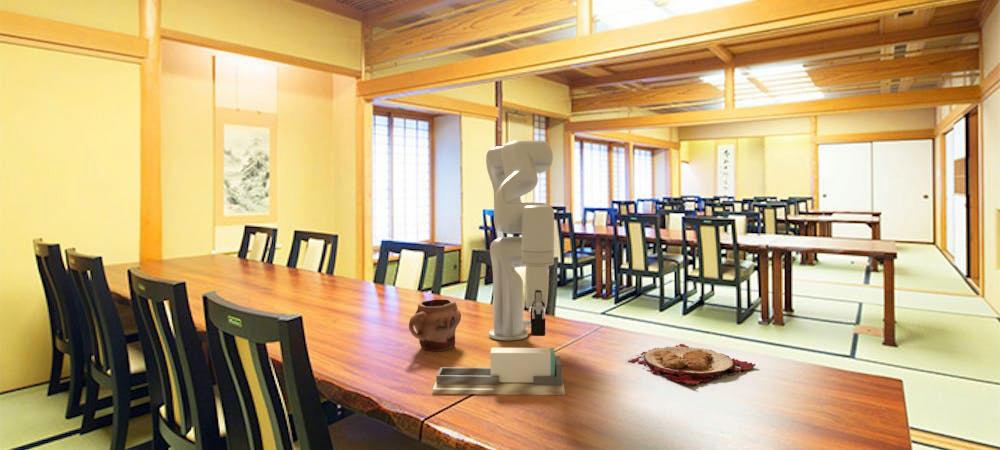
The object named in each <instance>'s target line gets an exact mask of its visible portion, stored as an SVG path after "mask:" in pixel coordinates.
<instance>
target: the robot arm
mask: <svg viewBox="0 0 1000 450" xmlns="http://www.w3.org/2000/svg"><path fill="white" fill-rule="evenodd" d="M553 155H554V154H553V149H552V147H551V145H549V143H548V142H547V141H545V140H512V141H509V142H506V143H505V144H504V146H503V145H502V146H496V147H495V146H494V147H491V148H490V149H488V151H487V152H486V155H485V156H486V157H485V163H486V169H487V172H488V173H487V174H488V176H489V179H490V183H491V184H492V189H493V218H494V219H493V220H494V221H493V223H494V228H495V229H496V231H498V232H501V233H503V234H521V236H503V237H498V238H496V239H494V240H493V241H492V242H491V243H490V247H489V254H490V261H491V267H492V269H491V270H492V291H493V292H492V293H493V297H492V298H493V300H492V301H493V302H492V303H493V308H492V309H493V312H492V313H493V329H490V330H489V331H488V336H489V338H490V339H494V340H497V341H505V342H507V341H509V342H510V341H513V342H514V341H520V340H523V339H525V338H527V337H528V336H529V331H528V330H527V329H526V328H527V327H530V334H531V336H532V337H545V336H546V318H545V309H546V308H547V307H548V299H549V277H550V276H549V274H550V271H549V269H550V268H549V267H550V266H553V265H554V264H555V211H554V208H553V207H552V206H551V205H549V204H548V203H545V202H523V201H522V200H521V197H522V196H525V195H526V194H527V195H528V194H529V193H530V192H532V191H533V190H534V189H535V188H536V187H537V185H538V182H539V177H538V174H542V173H545V172H547V171H548V170H550V168H551V167H552V163H553V161H554V158H553V157H554V156H553ZM523 267H525V308H527V309H530V319H528V320H527V319H524V280H523V279H522V277H521V275H520V273H518V272H517V270H516V269H515V268H523Z"/></svg>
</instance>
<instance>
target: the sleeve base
mask: <svg viewBox="0 0 1000 450" xmlns="http://www.w3.org/2000/svg"><path fill="white" fill-rule="evenodd" d="M565 392H566V391H565V385H564V380H563V378H562V386H538V385H533V383H526V382H499V376H491V367H466V366H465V367H460V366H459V367H453V366H450V367H449V366H445V367H444V366H442V367H441V366H440V367H439V370H438V372H437V374H436V381H435V383H434V385H433V388H432V394H435V395H436V394H437V395H438V394H439V395H442V394H444V395H445V394H446V395H448V394H449V395H509V396H510V395H514V396H515V395H517V396H518V395H521V396H522V395H523V396H524V395H525V396H530V395H531V396H533V395H534V396H565V395H566V393H565Z"/></svg>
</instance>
